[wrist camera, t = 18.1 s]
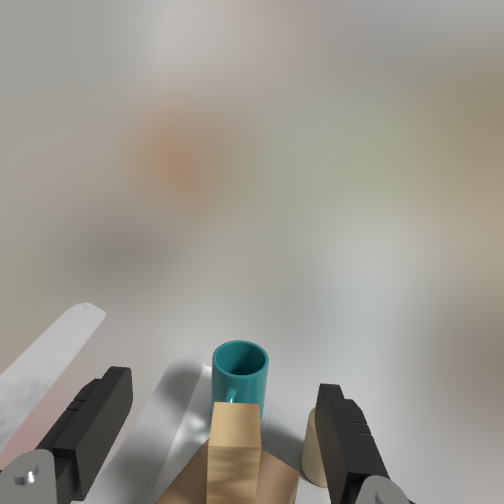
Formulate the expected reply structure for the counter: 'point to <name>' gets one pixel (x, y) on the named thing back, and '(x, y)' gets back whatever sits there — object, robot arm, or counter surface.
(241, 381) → the cup
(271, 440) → the counter surface
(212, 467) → the oak pillar
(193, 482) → the walnut block
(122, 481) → the counter surface
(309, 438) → the candle
